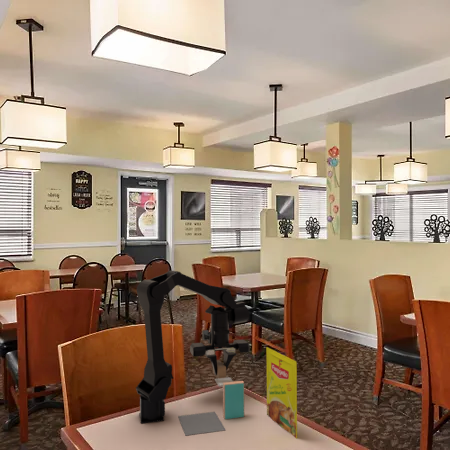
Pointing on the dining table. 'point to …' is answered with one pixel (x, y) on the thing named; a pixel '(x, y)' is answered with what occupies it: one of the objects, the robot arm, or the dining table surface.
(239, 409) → the tile
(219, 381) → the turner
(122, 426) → the dining table surface
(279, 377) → the food package
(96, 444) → the dining table surface
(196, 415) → the mat
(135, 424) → the dining table surface
